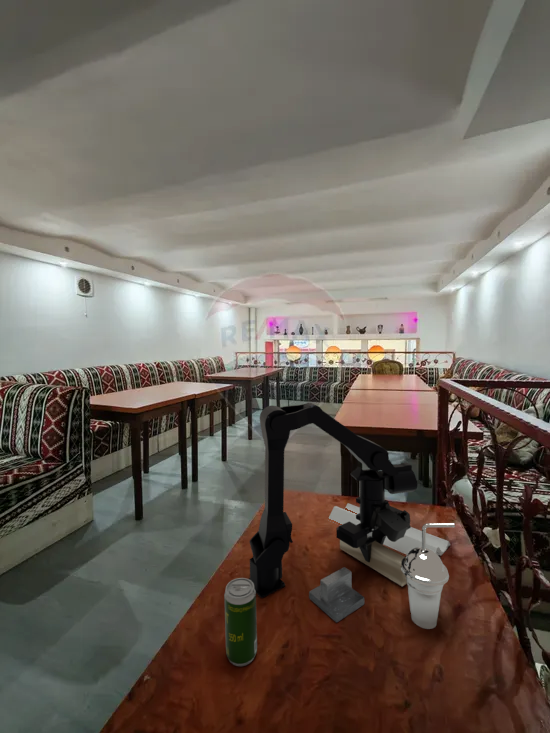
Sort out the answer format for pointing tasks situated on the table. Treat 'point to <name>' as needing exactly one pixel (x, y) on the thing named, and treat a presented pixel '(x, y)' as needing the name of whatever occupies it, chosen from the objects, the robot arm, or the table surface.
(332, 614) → the fulcrum
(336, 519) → the crown molding
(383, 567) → the batten
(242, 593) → the beer can
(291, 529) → the robot arm
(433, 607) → the cup with straw
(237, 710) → the table surface
